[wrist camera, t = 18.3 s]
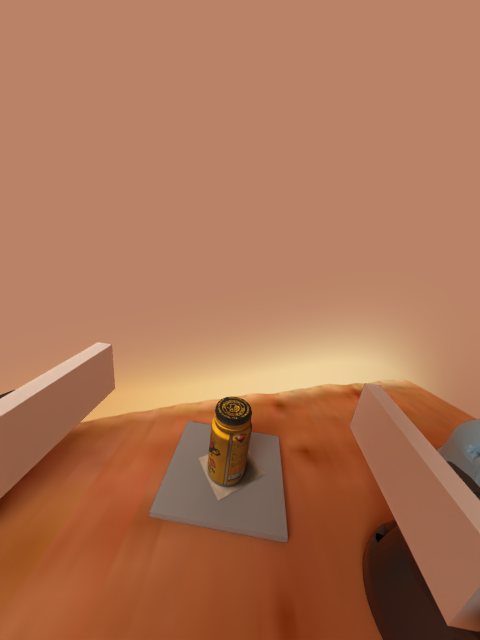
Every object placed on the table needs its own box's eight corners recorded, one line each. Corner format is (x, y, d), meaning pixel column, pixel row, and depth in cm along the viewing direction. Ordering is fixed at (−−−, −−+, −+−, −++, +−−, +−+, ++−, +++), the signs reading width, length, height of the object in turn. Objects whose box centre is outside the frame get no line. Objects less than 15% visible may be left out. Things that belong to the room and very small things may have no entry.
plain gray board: (277, 440, 43) (278, 436, 43) (286, 542, 28) (288, 538, 28) (187, 424, 44) (188, 420, 44) (149, 516, 29) (149, 511, 29)
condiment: (198, 458, 37) (202, 398, 33) (241, 440, 41) (249, 385, 37) (217, 501, 31) (226, 434, 27) (265, 474, 35) (278, 414, 32)
